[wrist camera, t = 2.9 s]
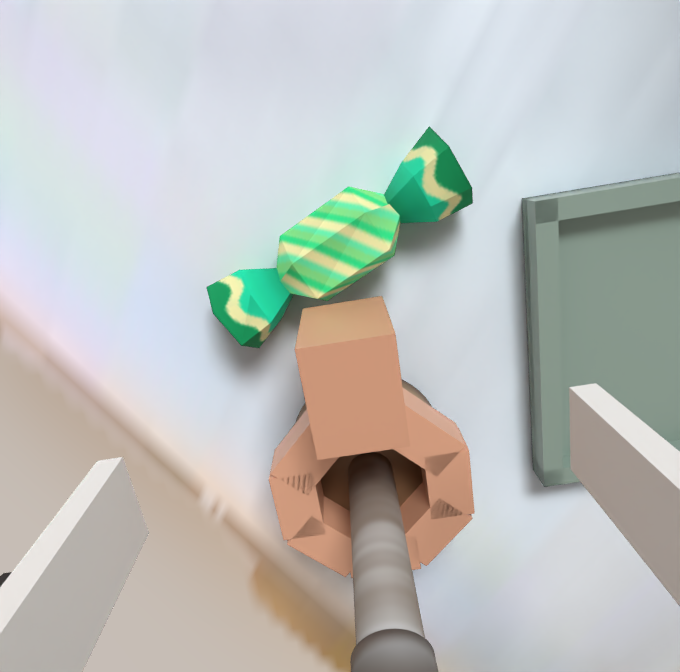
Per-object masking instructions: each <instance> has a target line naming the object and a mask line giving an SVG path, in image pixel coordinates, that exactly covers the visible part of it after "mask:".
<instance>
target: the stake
mask: <svg viewBox="0 0 680 672" xmlns="http://www.w3.org/2000/svg"><path fill="white" fill-rule="evenodd" d="M402 387H403V388H404V389H406V390H407V391H409V392H410V393H412V394H413V395H415V396H416V397H418V398H419V399H421V400H422V401H423V402H425V403H426V404H428V405H429V406H431V404H430V403H429V402H428V400H427V399H426V397H425V396H424V395H423V394H422V393H421V392H420V391H419V390H417V389H416V388H415V387H413V386H412V385H411V384H409V383H407V382H405V381H404V380H402ZM431 407H432V406H431ZM306 409H307V407H306V403H305V404H304V406H303V407H302V409H301V411H300V413H299V415H298V417H297V420H296V422H297V421H298V420H299V418H300V417H301V416H302V414H303V413H304V412H305V411H306ZM422 482H423V478H422V470H421V467H420V466H419V465H417V464H416V463H414V462H413V461H411V460H409V459H408V458H406V457H405V456H403V455H402V454H400V453H398V452H397V451H395V450H394V449H389V450H383V451H376V452H369V453H362V454H355V455H349V456H342V457H339V458H338V459H337V460H336V461H335V463H334V464H333V465H332V466H331V467H330V469H329V470H328V471H327V472H326V473H325V475H324V476H323V477H322V478H321V484H322V489H323V494H324V496H325V497H327V498H328V499H330V500H332V501H334V502H335V503H337V504H339V505H340V506H342V507H344V508H345V509H347V510H349V511H350V524H351V545H352V565H353V586H354V607H355V628H356V647H355V648H354V650H353V652H352V655H351V672H438V668H437V663H436V659H435V654H434V650H433V648H432V646H431V644H430V643H429V642H428V641H427V640H426V639H425V636H424V631H423V625H422V620H421V615H420V610H419V605H418V599H417V594H416V589H415V584H414V578H413V573H412V568H411V563H410V557H409V552H408V547H407V542H406V536H405V531H404V526H403V521H402V515H401V510H400V506H401V505H402V504H403V503H404V502H405V501H406V500H407V499H408V497H409V496H410V495H411V494H412V493H413V492H414V491H415V490H416V489H417V488H418V486H419V485H420V484H421V483H422Z"/></svg>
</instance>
